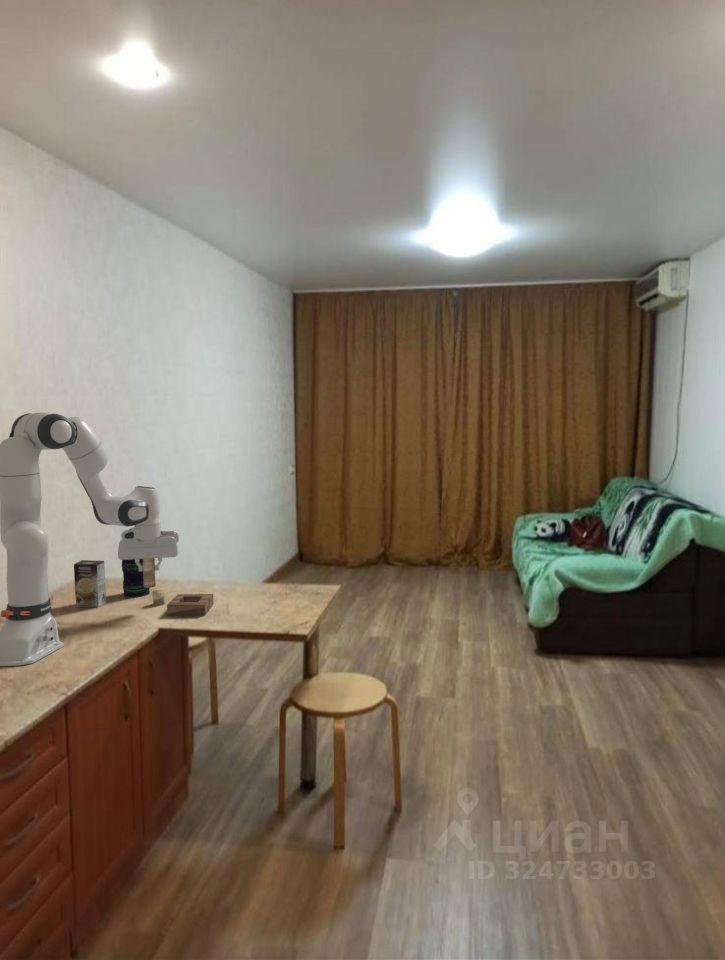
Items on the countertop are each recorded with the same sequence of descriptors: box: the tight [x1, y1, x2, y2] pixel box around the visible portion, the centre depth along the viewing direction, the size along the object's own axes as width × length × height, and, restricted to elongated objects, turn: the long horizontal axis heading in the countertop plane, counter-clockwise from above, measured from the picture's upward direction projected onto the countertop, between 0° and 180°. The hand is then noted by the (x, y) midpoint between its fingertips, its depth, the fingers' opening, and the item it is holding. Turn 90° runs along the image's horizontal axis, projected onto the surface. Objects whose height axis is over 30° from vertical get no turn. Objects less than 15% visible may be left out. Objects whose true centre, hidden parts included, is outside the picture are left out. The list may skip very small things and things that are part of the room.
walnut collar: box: [166, 593, 215, 617], centre depth 243 cm, size 13×13×4 cm
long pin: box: [143, 554, 157, 589], centre depth 242 cm, size 4×4×12 cm
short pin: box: [152, 588, 166, 607], centre depth 251 cm, size 4×4×5 cm
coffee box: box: [73, 559, 107, 608], centre depth 251 cm, size 9×6×16 cm
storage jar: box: [121, 559, 151, 598], centre depth 265 cm, size 10×10×15 cm
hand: (149, 570), depth 242 cm, fingers closed on long pin, 4 cm apart
